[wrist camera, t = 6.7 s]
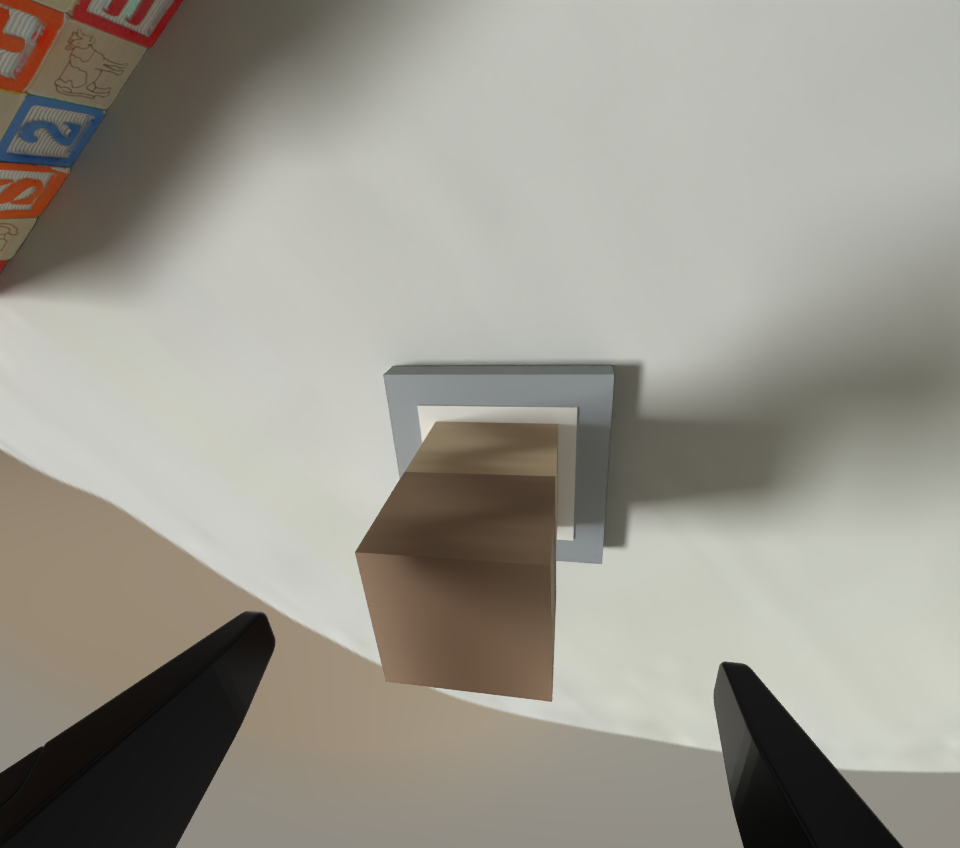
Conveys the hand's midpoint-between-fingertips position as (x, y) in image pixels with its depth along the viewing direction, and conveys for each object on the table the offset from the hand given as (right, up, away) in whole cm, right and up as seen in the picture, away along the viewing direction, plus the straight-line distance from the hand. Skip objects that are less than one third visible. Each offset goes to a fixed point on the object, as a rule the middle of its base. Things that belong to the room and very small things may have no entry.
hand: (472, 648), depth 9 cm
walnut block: (0, +1, +7) cm, 7 cm away
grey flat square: (+1, +3, +12) cm, 12 cm away
